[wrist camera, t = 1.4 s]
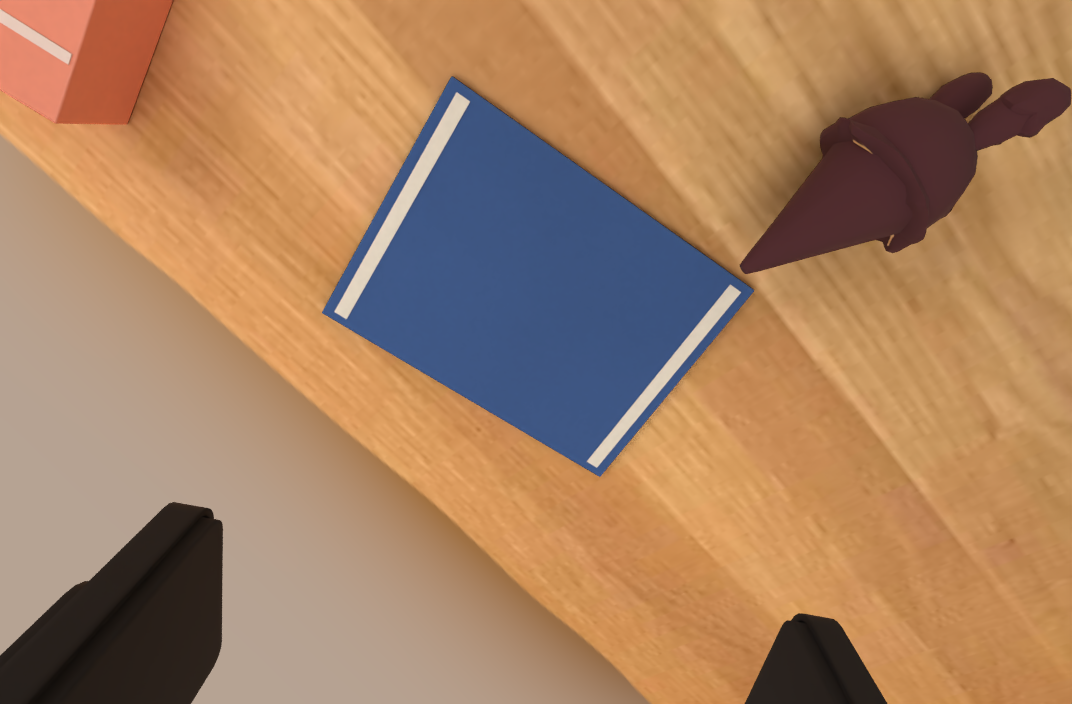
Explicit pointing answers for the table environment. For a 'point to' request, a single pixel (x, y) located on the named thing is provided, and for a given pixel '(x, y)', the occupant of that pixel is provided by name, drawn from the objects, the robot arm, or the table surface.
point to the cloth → (530, 284)
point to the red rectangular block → (78, 55)
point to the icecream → (901, 167)
